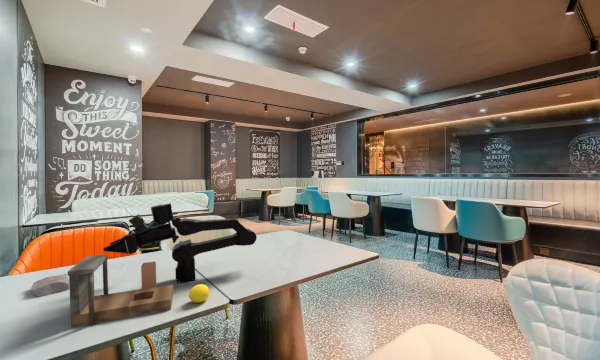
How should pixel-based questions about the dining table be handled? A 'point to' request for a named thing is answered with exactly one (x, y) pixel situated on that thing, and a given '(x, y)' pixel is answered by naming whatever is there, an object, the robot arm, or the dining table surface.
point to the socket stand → (110, 296)
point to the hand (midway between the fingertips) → (107, 246)
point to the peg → (148, 275)
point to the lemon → (199, 293)
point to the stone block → (50, 285)
